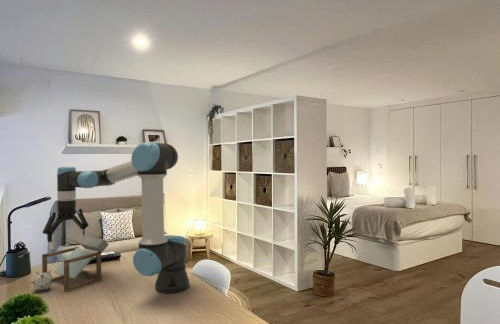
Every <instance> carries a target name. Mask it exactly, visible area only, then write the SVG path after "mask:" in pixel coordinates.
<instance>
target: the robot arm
mask: <svg viewBox="0 0 500 324" xmlns="http://www.w3.org/2000/svg"><path fill="white" fill-rule="evenodd" d="M130 159H131V160H130V161H127V162H125V163H121V164H118V165H115V166H112V167H110V168H106V169H103V170H82V171H81V170H80V171H79V170H77V169H76V167H75V166H60V167H59V166H58V168H57V173H56V180H57V181H56V182H57V183H56V189H57V190H56V191H57V197H56V198H57V203H56V204H57V207H56V208H57V211H50V212H49V217H48V220H47V222H46V224H45V226H44V228H43V230H42V234H44V235H46V236H47V237H46V239H47V242H48V243H49V244H48V249H50V250H55V233H54V232H55V231H56V230H57V228H58V227H59V225H60V224H61V223H62V222H65V221H69V220H70V221H71V220H72V221H73V222H74V223H75V224H76V225H77V226H78V227H79V228H77V229H78V231H77V235H78V236H77V237H78V239H77V242H78V243H83V240H84V236H85V231H86V228H88V227H89V226H90V225H89V223H88V222H87V219H86V217H85V216H84V214H83V209H82V208H76V206H77V205H76V204H77V202H76V199H77V195H76V192H77V191H76V190H77V188H81V189H93V188H94V187H95V188H97V187H109V186H113V185H115V184H116V183H118V182H121V181H125V180H127V179H132V178H134V177H135V178H136V177H139V179H141V213H142V214H141V215H142V216H141V219H142V220H141V221H142V223H141V224H142V225H141V226H142V231H141V232H142V237H141V239H139V240H138V249H137V250H136V251H135V253H134V254H133V257H132V264H133V267H134V268H135V270H136V271H137V272H138V273H139V274H140V275H141V276H143V277H153V276H155V275H157V278H156V280H155V283H154V289H155V291H157V292H159V293H163V294H174V293H180V292H181V293H182V292H183V291H185V290H188V289H189V288H190V278H189V277H188V273H187V269H186V263H187V262H186V259H187V258H186V257H187V256H186V248H187V247H186V245H187V244H186V238H185V237H184V236H182V235H170V234H169V235H165V214H164V213H165V212H164V210H165V209H164V208H165V207H164V204H165V203H164V179H165V177H166V176H167V175H168V172H167V170H170V169H172V168H173V167H174V168H175V166H176V165H177V163H178V161H179V155H178V151H177V149H176V148H175V147H174V146H173V145H171V144H169V143H162V142H154V141H153V142H152V141H148V142H146V141H145V142H141V143H139V144H138V145H136V147H134V149H133V151H132V153H131V158H130ZM76 214H77V216H78V217H77V216H76ZM188 287H189V288H188Z"/></svg>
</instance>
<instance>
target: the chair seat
mask: <svg viewBox="0 0 500 324" xmlns="http://www.w3.org/2000/svg"><path fill="white" fill-rule="evenodd" d="M80 245H81V246H82V248H80V247H79V248H75V250H74V251H71V253H70V254H69V255H68V256H67V257H66V258H65V260H69V259H73V258H77V257H80V256H84V255H88V254H92V253H96V252H101V254H102V253H103V252H104V251H105V249H107V247H109V245H110V244H109V243H108V241H107V240H105V238H98V237H93V236H89V235H87V236H85V238H83V243H80ZM93 259H94V257H90V258H87V259H83V260H79V261H75V262H72V263H69V279H71V280H72V279H73V280H76V278H77V277H78V276H79V273H80V272H81V271H82V270H85V268H86V266H87V265H89V263H90V262H91V261H92V260H93ZM54 273H55V274H56V275H59V276H61V275H62V276H64V261H63V262H62V263H61V264H60V266H59V265H58V267H57V269H56V270H55V271H54Z"/></svg>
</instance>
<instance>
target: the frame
mask: <svg viewBox="0 0 500 324" xmlns="http://www.w3.org/2000/svg"><path fill="white" fill-rule="evenodd" d="M75 248H80V247H79V246H74V247H70V248H66V249H61V250H57V251H53V252H48V253H43V254H42V255H41V256H42V257H41V273H46V272H48V257H49V258H50V257H53V256H58V255H61V254H65V253H70V252H73V251H74V250H75ZM95 252H96V253H92V254H88V255H84V256H80V257H77V258H73V259H69V260H66V259H65V260H64V261H63V262H64V276H62V275H59V276H55V277H52V279H55V280H54V281H52V283H53V282H56V281H60V280H63V292H64V293H68V292H71V291H74V290H77V289H80V288H83V287H85V286H88V285H91V284H94V283H97V282H100V281H102V253H101V252H97V251H95ZM90 257H93V258H96V259H95V261H96V266H95V269H96V273H95V272H92V271H88V270H85V269H83V270H82V271H81V272H80V273H79V275H78V276H80V277H83V278H87V279H89V280H86V281H83V282H81V283H78V284H75V285H70V278H69V263H72V262H75V261H79V260H83V259H87V258H90Z"/></svg>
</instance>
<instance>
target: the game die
mask: <svg viewBox="0 0 500 324" xmlns="http://www.w3.org/2000/svg"><path fill="white" fill-rule="evenodd" d="M52 278H53V276H52V275H51V270H49V271H47V272H46V273H42V272H38V271H37V272H36V275H35V278H34V279H33V281H31V282H30V283H31V284H33V286H34V287H35V293H37V292H38V291H43V290H44V291H46V290H48V291H50V290H51V289H50V287H51V285H52V284H53V282H55V281H54V280H55V279H52ZM52 281H53V282H52Z"/></svg>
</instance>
